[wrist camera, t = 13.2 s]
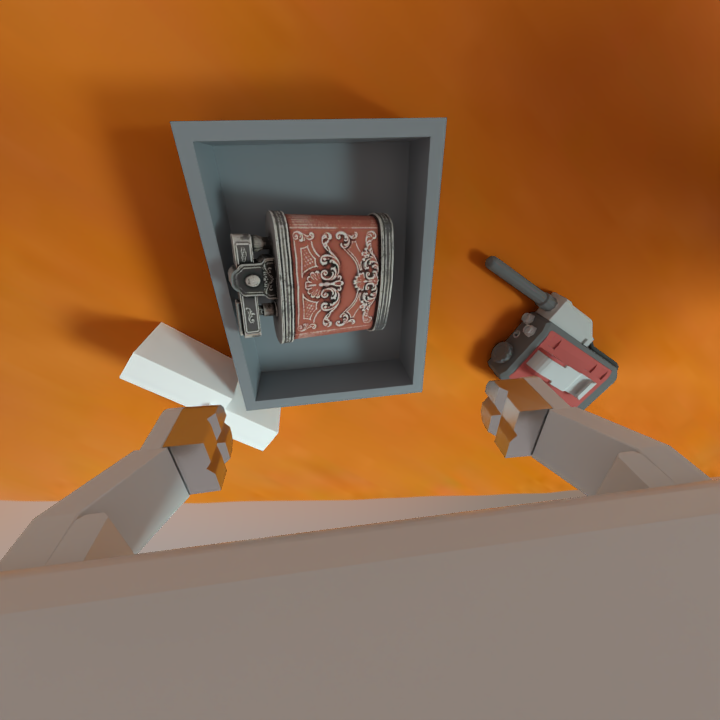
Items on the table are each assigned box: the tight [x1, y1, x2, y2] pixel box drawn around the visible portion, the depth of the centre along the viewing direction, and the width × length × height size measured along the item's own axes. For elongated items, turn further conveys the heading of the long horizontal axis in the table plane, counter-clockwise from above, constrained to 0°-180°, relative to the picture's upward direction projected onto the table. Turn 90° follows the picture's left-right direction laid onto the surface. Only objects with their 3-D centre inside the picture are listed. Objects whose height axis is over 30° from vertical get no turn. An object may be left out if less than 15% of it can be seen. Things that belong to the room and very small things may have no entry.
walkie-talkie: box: [485, 256, 618, 410], centre depth 30 cm, size 9×4×20 cm
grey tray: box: [170, 118, 447, 411], centre depth 23 cm, size 14×18×5 cm
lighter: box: [228, 210, 394, 344], centre depth 21 cm, size 8×3×10 cm
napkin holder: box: [119, 322, 281, 451], centre depth 26 cm, size 15×11×6 cm
